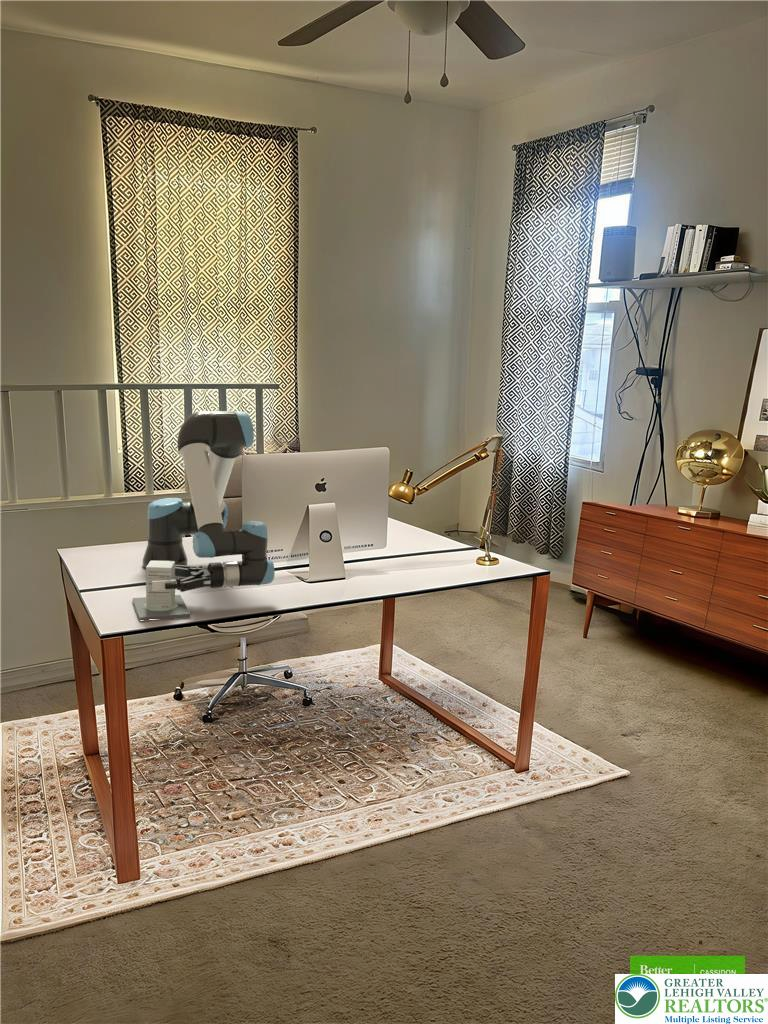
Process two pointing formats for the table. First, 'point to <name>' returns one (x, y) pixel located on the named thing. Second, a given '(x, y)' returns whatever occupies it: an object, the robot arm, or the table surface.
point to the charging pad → (161, 610)
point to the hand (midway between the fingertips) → (149, 579)
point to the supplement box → (158, 573)
